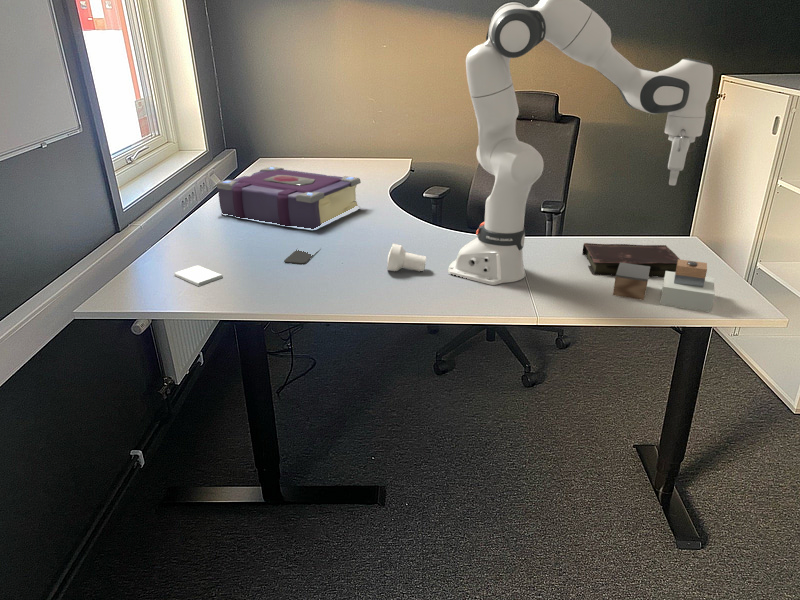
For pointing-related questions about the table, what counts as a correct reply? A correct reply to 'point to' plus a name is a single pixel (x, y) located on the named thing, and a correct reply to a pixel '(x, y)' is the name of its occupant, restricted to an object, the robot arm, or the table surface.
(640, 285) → the walnut stand
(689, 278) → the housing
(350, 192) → the book
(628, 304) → the table surface
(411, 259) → the spotlight
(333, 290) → the table surface
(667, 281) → the grey stand
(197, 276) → the external hard drive
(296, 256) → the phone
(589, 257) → the diary
